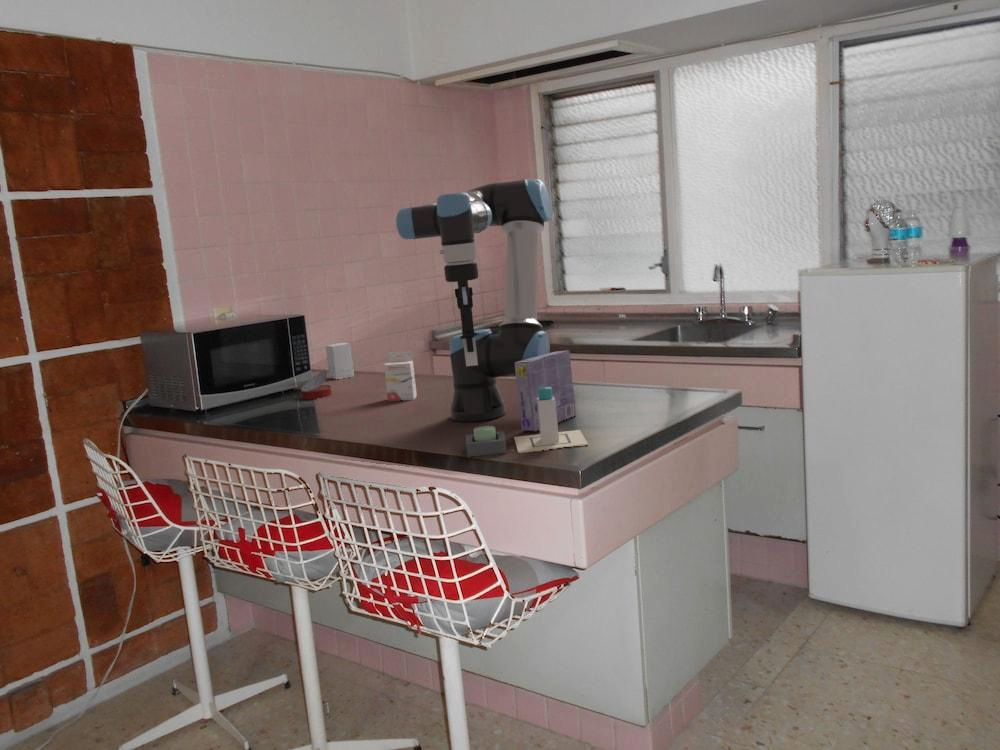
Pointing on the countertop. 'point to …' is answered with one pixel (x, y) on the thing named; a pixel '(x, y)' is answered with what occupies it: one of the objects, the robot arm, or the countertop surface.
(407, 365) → the ink cartridge box
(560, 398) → the cake pan box
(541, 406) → the teal capped white bottle
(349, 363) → the supplement box
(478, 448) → the button box
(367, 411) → the countertop surface
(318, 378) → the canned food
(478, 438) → the button
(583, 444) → the cream square mat
